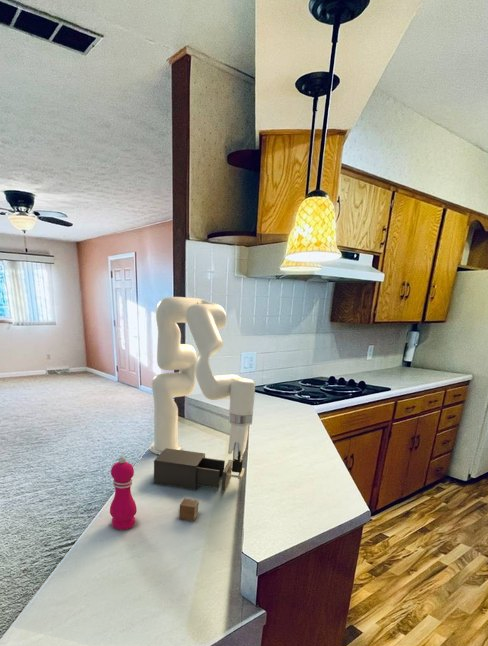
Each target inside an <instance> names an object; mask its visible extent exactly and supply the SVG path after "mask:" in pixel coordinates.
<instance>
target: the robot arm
mask: <svg viewBox="0 0 488 646" xmlns="http://www.w3.org/2000/svg"><path fill="white" fill-rule="evenodd" d="M227 318H228V317H227V313H226V311H225V309H224V308H223V307H222V306H221V305H220V304H219V303H215V302H212V301H209V300H206V299H203V298H199V297H198V298H197V297H186V296H185V297H184V296H167V297H164V298H162V299H161V300H160V301H158V303H157V306H156V310H155V319H156V327H157V346H156V347H157V348H156V350H157V351H156V362H157V367H159V369H160V370H163V371H176V372H164V373H159V374H157V375H155V376H154V377H153V378H152V381H151V390H152V394H153V395H152V396H153V444H151V445H150V446H149V450H150V452H151V453H153V454H155V455H157V456H159V455H160V454H161V453H162V452H163V451H164V450H165V449H166V448H169V449H176V450H182V448H181V446H180V445H178V431H179V428H178V427H179V407H178V405H177V402H176V401H175V400H174V398H181V397H186V396H187V397H188V396H190V395H192V394H193V392H194V390H195V385H196V381H197V383H198V386H199V388H200V390H201V393H202V394H203V396H204V397H205V398H206V399H207V400H209V401H217V400H218V401H219V400H223V399H224V400H225V399H229V410H228V412H229V413H228V423H229V424H230V428H229V429H230V431H229V440H228V449H227V454H228V455H231V454H232V470H231V473H238V474H239V473H241V471H242V468H243V462H244V460H243V458H244V457H243V456H244V453H245V451H246V448H247V443H248V434H249V426H251V425H252V424H253V419H254V418H253V416H254V405H255V393H256V383H255V381H254V380H253V379H251V378H243V377H241V376H239V375H238V374H220V375H214V373H213V370H212V367H211V365H210V358H212V357H213V356H214V355H216V354H217V353H219V352H220V351H221V350H222V348H223V346H224V341H223V339H222V337H221V334H220V332H219V331H220V330H223V329H224V327H225V326H226V324H227V320H228V319H227ZM178 323H179V324H180V323H181V324H187V325H188V328H189V331H190V333H191V337H192V338H193V341H194V343H195V346H196V348H197V352H198V355H197V352H196V349H195V348H194V346H192V345H191V344H188V343H181V341H182V339H181V338H182V333H181V328H180V327H179V325H178Z"/></svg>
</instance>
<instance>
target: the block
mask: <svg viewBox="0 0 488 646" xmlns="http://www.w3.org/2000/svg"><path fill="white" fill-rule="evenodd" d="M199 502H200V500H199V499H198V500H197V499H191V498H183V499H182V501H181V502H180V504H179V511H178V515H179V516H178V519H179V520H183V521H184V520H186V521H190V522H195V520H196V518H197V516H198V515H199V504H200V503H199Z"/></svg>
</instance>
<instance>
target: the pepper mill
mask: <svg viewBox="0 0 488 646" xmlns="http://www.w3.org/2000/svg"><path fill="white" fill-rule="evenodd" d="M110 475H111V477H112V482H113V483H112V485H113V487H114V497H113V499H112V502H111V503H110V507H109V514H110V516H111V517H112V518H111V526H112V527H113V528H114V529H116V530H121V531H123V530H129V529H131V528H134V527H135V525H136V517H135V516H136V514H137V511H138V510H137V509H138V508H137V504H136V502H135V500H134V497H133V495H132V491H131V488H132V485H133V477H134V475H135V468H134V466H133V464H131V463H130V462H128V461H127V460H126V457H124V456H120V457H119V458H118V461H117V462H115V463H114V464H112V466H111V469H110Z"/></svg>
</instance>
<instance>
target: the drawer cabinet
mask: <svg viewBox="0 0 488 646" xmlns="http://www.w3.org/2000/svg"><path fill="white" fill-rule="evenodd" d="M203 458H206V453H204V452H197V451H189V450H182V449H181V450H176V449H169V448H166V449H165V450H164V451H163V452H162V453H161V454H160V455H157V456H156V457H155V458H154V459H153V484H154V485H160V486H166V487H173V488H180V489H186V490H193V491H196V489H197V488H198V487H199V485H196V474H197V467H198V465H199V464H200V462H201V461H202V459H203Z"/></svg>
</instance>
